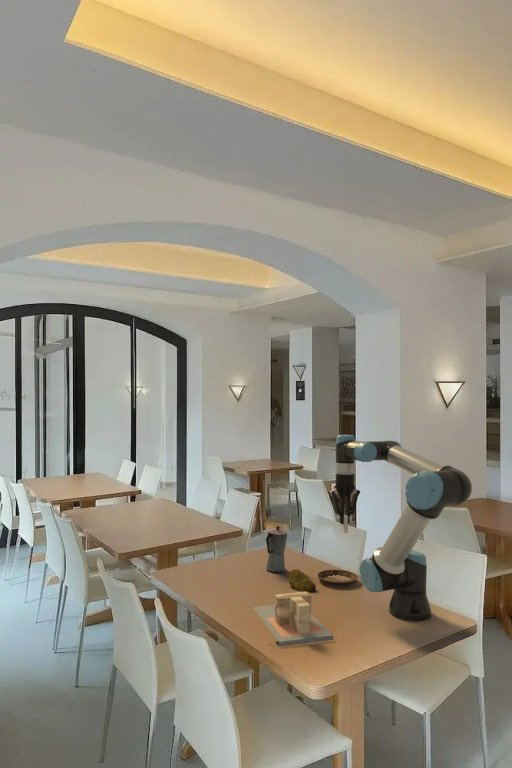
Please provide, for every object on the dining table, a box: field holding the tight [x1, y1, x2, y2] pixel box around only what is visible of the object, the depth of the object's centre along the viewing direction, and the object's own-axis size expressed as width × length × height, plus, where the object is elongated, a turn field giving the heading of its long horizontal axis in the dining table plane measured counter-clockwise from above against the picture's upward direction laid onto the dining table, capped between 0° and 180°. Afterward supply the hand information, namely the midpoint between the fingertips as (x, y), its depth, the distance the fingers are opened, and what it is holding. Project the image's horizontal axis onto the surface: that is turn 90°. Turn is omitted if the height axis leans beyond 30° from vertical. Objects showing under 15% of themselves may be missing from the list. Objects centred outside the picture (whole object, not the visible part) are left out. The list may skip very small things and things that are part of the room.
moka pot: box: [265, 526, 288, 573], centre depth 249 cm, size 10×15×20 cm, turn 148°
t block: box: [274, 591, 312, 633], centre depth 184 cm, size 12×12×9 cm
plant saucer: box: [316, 569, 359, 588], centre depth 234 cm, size 18×18×3 cm
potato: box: [287, 568, 317, 593], centre depth 222 cm, size 8×13×8 cm, turn 28°
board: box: [252, 604, 334, 647], centre depth 188 cm, size 30×19×2 cm, turn 17°
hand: (344, 531), depth 215 cm, fingers closed
